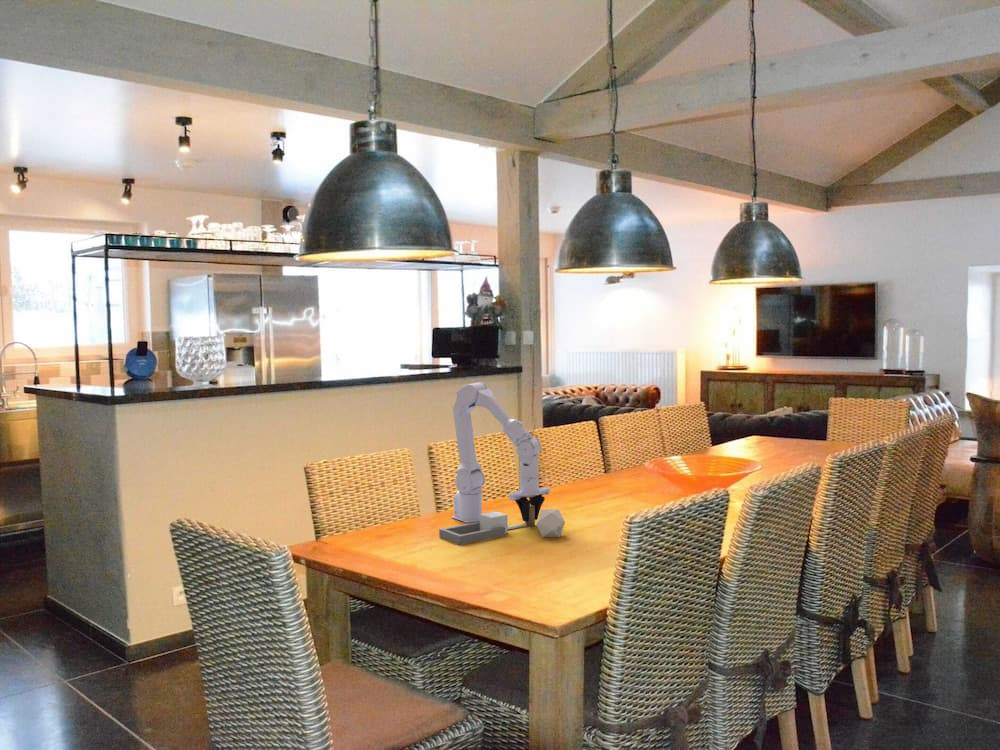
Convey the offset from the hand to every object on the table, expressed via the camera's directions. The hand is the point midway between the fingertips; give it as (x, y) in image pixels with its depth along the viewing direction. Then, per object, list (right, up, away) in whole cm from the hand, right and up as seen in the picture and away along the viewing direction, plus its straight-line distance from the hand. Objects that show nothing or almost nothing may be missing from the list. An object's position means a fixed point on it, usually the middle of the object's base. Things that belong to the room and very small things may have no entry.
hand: (530, 520), depth 271 cm
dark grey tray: (-17, -3, -12) cm, 21 cm away
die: (+6, -3, -13) cm, 14 cm away
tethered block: (-6, -2, -4) cm, 8 cm away
